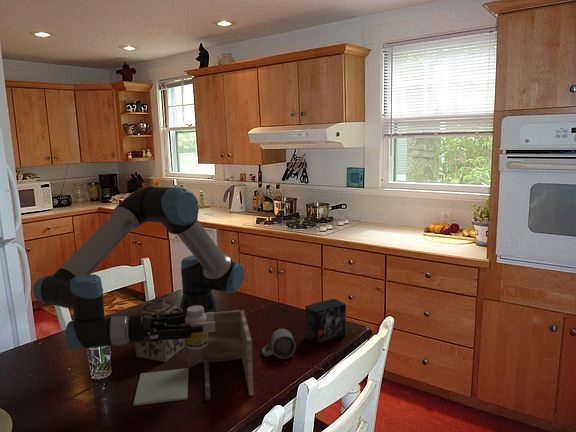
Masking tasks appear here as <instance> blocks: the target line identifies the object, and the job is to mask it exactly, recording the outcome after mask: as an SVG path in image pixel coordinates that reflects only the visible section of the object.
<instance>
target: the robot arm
mask: <svg viewBox="0 0 576 432" xmlns="http://www.w3.org/2000/svg"><path fill="white" fill-rule="evenodd" d="M198 205H199V201H198V198H197V197H196V195H195V194H194V193H193V192H192V191H190V190H189V189H188V188H187V189H186V188H182V187H178V186H175V187H173V186H171V187H167V186H166V187H165V186H146V187H145V186H144V187H142V188H140V189H138V190H135V191H134V192H132V193H131V194H129V195H128V196H127V197H125V198H124V199H123V200H122V201H120V203H118V204H117V205H116V206H115V207H114V208H113V209H112V210H113V211H112V215H111V216H110V217H109V218H108V219H107V220H106V221H105V222H104V223H102V225H101V226H100V227H99V228H98V229H96V230H95V232H94V233H93V234H92V235H91V236H90V237H89V238H88V239H87V240H86V241H85V242H84V243H83V244H82V245H81V246H80V247H79V248H78V249H77V250H76V251H75V252H74V253H73V254H72V255H71V256H70V257H69V258H68V259H67V260H66V261H65V262H64V263H63V264H62V265H61V266H60V267H59V268H58V269H57V270H56V271H55V272H54V273H53V274H52V275H44V276H42V277H40V278H38V279H37V280H36V281H35V283H34V284H33V287H32V293H33V296H34V298H35V299H36V300H37V301H38V302H40V303H43V304H45V305H49V306H57V307H62V308H64V309H67V310H68V309H69V310H72V311H73V320H71V321H70V320H69V322H68V323H67V325H66V328H65V342H66V345H67V347H68V348H70V349H71V350H78V349H81V350H82V349H85V350H87V349H92V348H100V347H101V348H102V347H110V346H117V347H121V346H122V345H128V343H129V344H135V343H142V342H144V340H145V337H150V341H151V342H154V341H159V340H171V339H185V340H186V338H191V334H196V333H206V332H215V321H214V312H218V303H217V300H216V299H215V296H214V293H213V291H218V292H223V293H228V294H229V293H231V294H235V293H237V292H238V291H239V290H240V289H241V288H242V285H243V283H244V280H245V267H244V265H243V264H242V263H239V262H234V261H233V260H232V258H231V257H230V256H229V255H228V254H227V253H223V252H221V249H219V247H218V246H217V244H216V243H215V242H214V240H213V239H212V238H211V236H210V234H209V233H208V231H206V229H205V228H204V226H203V225H202V223H201V222H200V221H199V220H198V218H199V211H200V208H199V206H198ZM149 222H151V223H158V224H162V226H163V227H164V228H165V229H166V231H167V232H169V234H171V235H176V236H177V237H178V238H179V240H181V242H182V243H183V245H185V247H186V248H187V249H188V251H189V252H190V253H191V255H188V256H186V257H184V258H183V259H181V262H180V263H181V264H180V272H181V274H180V275H181V287H182V296H181V300H180V303H179V305H178V306H179V307H180V308H181V309H182V310H183V312H176V313H168V314H154V315H153V316H154V318H152V319H148V320H145V319H144V316H143V315H136V314H135V315H132V314H131V315H130V316H128V315H121V316H112V317H110V316H109V317H106V315H105V303H104V288H103V283H102V278H101V277H100V276H99V275H98V274H93V272H94V271H95V270H96V269H97V268H98V267H99V266H100V265H101V264H102V263H103V262H104V260H106V258H107V257H108V256H109V255H110V254H111V253H112V252H113V251H114V249H116V248H117V246H119V244H120V243H121V242H122V241H123V240H124V239H125V237H127V236H128V235H129V233H131V231H133V230H134V231H136V230H137V229H138V228H139V227H141V225H143V224H145V223H149ZM191 306H203V307H204V313H203V314H205V315H206V316H207V322H201V323H191V326H190V325H185V318H186V316H187V308H189V307H191ZM181 324H184V325H181Z"/></svg>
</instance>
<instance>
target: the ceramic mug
mask: <svg viewBox="0 0 576 432" xmlns="http://www.w3.org/2000/svg"><path fill="white" fill-rule="evenodd" d="M296 347H297V344H296V341H295V340H294V337H293V334H292V332H290V331H289V330H288V329H286V328H278V329H277V330H275V331H274V332H273V333H272V335H271V339H270V342H269V343H268V344H266V345H264V346H263V348H262V349H261V353H262V355H263V356H264V357H269V356H272V355H274V356H275V357H276V358H278V359H281V360H282V359H284V360H285V359H289V358H290V357H292V356H293V355H294V353H295V352H296ZM270 348H271V349H270ZM269 349H270V350H269Z"/></svg>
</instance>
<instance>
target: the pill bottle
mask: <svg viewBox="0 0 576 432" xmlns="http://www.w3.org/2000/svg"><path fill="white" fill-rule="evenodd" d="M203 313H204V307H203V306H191V307H189V308H187V316H186V318H185V324H184V325H190V326H191V323H201V322H207V316H206V315H205V314H203ZM207 345H208V332H206V333H196V334H191V338H185V346H186V347H187V348H188V349H190V350H193V351H194V350H201V349H202V348H204V347H206V346H207Z"/></svg>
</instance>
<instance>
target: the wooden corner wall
mask: <svg viewBox="0 0 576 432" xmlns="http://www.w3.org/2000/svg"><path fill="white" fill-rule="evenodd" d="M214 321H215V332H208V345H207V346H206V347H204V348H202V349H200V355H201V357H200V358H201V364H204V366H203V367H204V395H205V397H204V400H205V401H206V402H209V401H211V398H212V397H211V378H210V376H211V374H210V363H216V362H225V361H226V362H227V361H234V360H241V361H242V365H243V371H244V372H243V373H244V375H245V381H246V382H245V383H246V386H247V391H248V396H249V397H250V396H254V395H255V393H254V372H253V371H254V369H253V368H254V366H253V364H254V363H253V340H252V336H251V333H250V330H249V325H248V322H247V321H248V320H247V318H246V313H245V309H237V310H225V311H224V310H222V311H216V312H214Z"/></svg>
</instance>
